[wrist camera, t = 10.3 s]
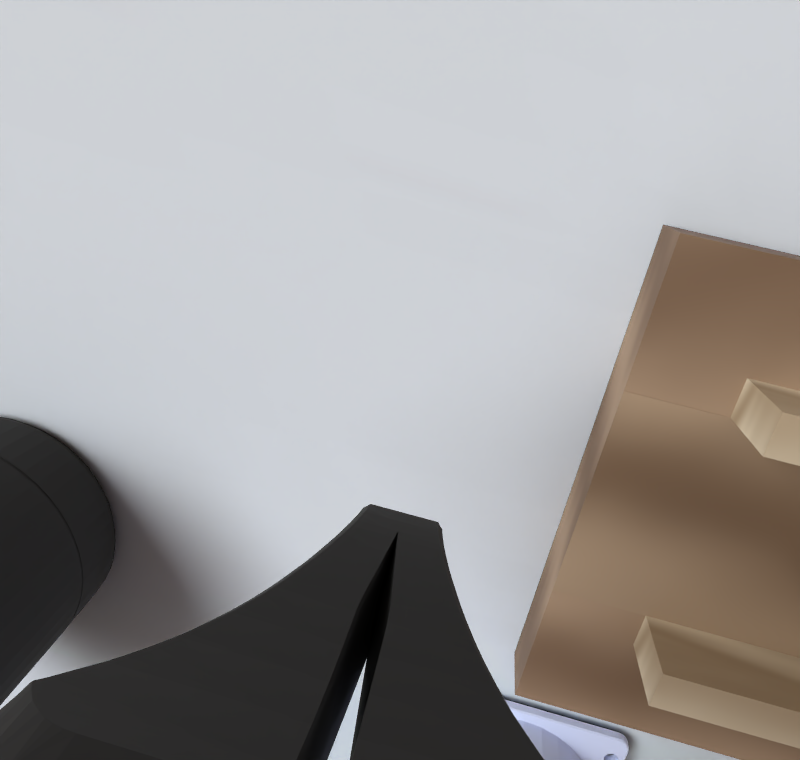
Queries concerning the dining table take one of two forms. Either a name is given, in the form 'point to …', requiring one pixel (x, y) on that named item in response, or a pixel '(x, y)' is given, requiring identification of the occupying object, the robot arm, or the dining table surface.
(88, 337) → the dining table surface
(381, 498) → the dining table surface
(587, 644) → the deck
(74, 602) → the pen holder
